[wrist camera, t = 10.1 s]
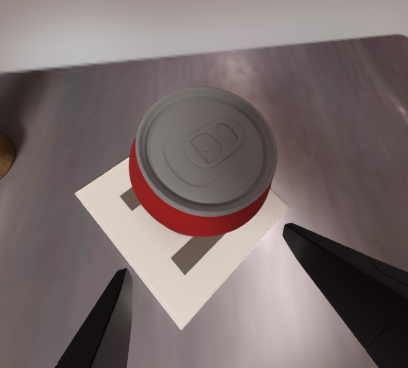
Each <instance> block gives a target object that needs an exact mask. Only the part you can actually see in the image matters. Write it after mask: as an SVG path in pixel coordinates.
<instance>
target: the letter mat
mask: <svg viewBox="0 0 408 368" xmlns="http://www.w3.org/2000/svg"><path fill="white" fill-rule="evenodd" d="M75 195H76V196H77V197H78V198H79V200H80V201H81V202H82V204H83V205H84V206H85V207H86V209H87V210H88V211H89V213H90V214H91V215H92V216H93V218H94V219H95V220H96V222H97V223H98V224H99V225H100V227H101V228H102V229H103V231H104V232H105V233H106V234H107V236H108V237H109V238H110V240H111V241H112V242H113V243H114V245H115V246H116V247H117V249H118V250H119V251H120V252H121V254H122V255H123V256H124V257H125V259H126V260H127V261H128V263H129V264H130V265H131V266H132V268H133V269H134V270H135V272H136V273H137V274H138V275H139V277H140V278H141V279H142V281H143V282H144V283H145V284H146V286H147V287H148V288H149V290H150V291H151V292H152V293H153V295H154V296H155V297H156V299H157V300H158V301H159V302H160V304H161V305H162V306H163V308H164V309H165V310H166V311H167V313H168V314H169V315H170V317H171V318H172V319H173V320H174V322H175V323H176V324H177V326H178V327H179V328H180V329H181V330H182V329H183V328H184V327H185V325H186V324H187V323H188V322H189V321H190V320H191V319H192V317H193V316H194V315H195V314H196V313H197V312H198V311H199V309H200V308H201V307H202V306H203V305H204V304H205V303H206V301H207V300H208V299H209V298H210V297H211V296H212V295H213V293H214V292H215V291H216V290H217V289H218V288H219V287H220V285H221V284H222V283H223V282H224V281H225V280H226V279H227V277H228V276H229V275H230V274H231V273H232V272H233V271H234V269H235V268H236V267H237V266H238V265H239V264H240V263H241V261H242V260H243V259H244V258H245V257H246V256H247V255H248V253H249V252H250V251H251V250H252V249H253V248H254V247H255V245H256V244H257V243H258V242H259V241H260V240H261V239H262V237H263V236H264V235H265V234H266V233H267V232H268V231H269V229H270V228H271V227H272V226H273V225H274V224H275V223H276V221H277V220H278V219H279V218H280V217H281V216H282V215H283V213H284V212H285V211H286V210H287V209H288V208H289V207H288V206H287V205H286V204H285V203H284V202H283V201H282V200H281V199H280V198H279V197H278V196H277V195H276V194H275V193H274V192H273V191H272V190H271V189H270V191H269V194H268V196H267V198H266V200H265V202H264V204H263V206H262V207H261V209H260V210H259V211H258V213H257V214H256V215H255V216H254V217H253V218H252V219H251V220H250V221H249V222H247V223H246V224H245V225H243V226H241V227H240V228H238V229H236V230H234V231H232V232H229V233H226V234H222V235H218V236H210V237H192V236H185V235H181V234H178V233H176V232H173V231H172V230H170V229H168V228H166V227H165V226H164V225H162V224H161V223H159V222H158V221H156V220H155V219H154V218H153V217H152V216H151V215H150V214H149V213H148V212H147V211H146V210H145V209H144V208H143V207H142V205H141V204H140V202H139V201H138V199H137V197H136V195H135V193H134V191H133V188H132V185H131V181H130V177H129V158H127V159H126V160H124V161H123V162H121V163H120V164H118V165H117V166H115V167H114V168H112V169H111V170H109V171H108V172H106V173H105V174H103V175H102V176H100V177H99V178H97V179H96V180H94V181H93V182H91V183H90V184H88V185H87V186H85V187H84V188H82V189H81V190H79V191H78V192H76V193H75Z"/></svg>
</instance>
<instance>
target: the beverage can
mask: <svg viewBox="0 0 408 368" xmlns="http://www.w3.org/2000/svg"><path fill="white" fill-rule="evenodd" d="M276 165H277V147H276V142H275V139H274V136H273V133H272V131H271V129H270V127H269V125H268V123H267V122H266V120H265V119H264V117H263V116H262V115H261V114H260V113H259V112H258V111H257V110H256V109H255V108H254V107H253V106H252V105H251V104H250V103H248V102H247V101H246V100H244V99H242V98H241V97H239V96H237V95H235V94H233V93H230V92H228V91H225V90H221V89H217V88H211V87H190V88H184V89H181V90H177V91H174V92H172V93H170V94H168V95H166V96H164V97H162V98H161V99H160V100H158V101H157V102H156V103H155V104H153V105H152V106H151V107H150V109H149V110H148V111H147V112H146V114H145V115H144V117H143V119H142V121H141V123H140V125H139V127H138V131H137V135H136V138H135V140H134V142H133V144H132V148H131V151H130V156H129V177H130V181H131V185H132V188H133V191H134V193H135V195H136V197H137V199H138V201H139V202H140V204H141V205H142V207H143V208H144V209H145V210H146V211H147V212H148V213H149V214H150V215H151V216H152V217H153V218H154V219H155V220H156V221H158V222H159V223H161V224H162V225H164V226H165V227H166V228H168V229H170V230H172V231H173V232H176V233H178V234H181V235H185V236H192V237H210V236H218V235H222V234H226V233H229V232H232V231H234V230H236V229H238V228H240V227H241V226H243V225H245V224H246V223H247V222H249V221H250V220H251V219H252V218H253V217H254V216H255V215H256V214H257V213H258V211H259V210H260V209H261V207H262V206H263V204H264V202H265V200H266V198H267V196H268V194H269V191H270V187H271V182H272V179H273V176H274V173H275V170H276Z"/></svg>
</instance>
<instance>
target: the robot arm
mask: <svg viewBox="0 0 408 368" xmlns="http://www.w3.org/2000/svg"><path fill="white" fill-rule="evenodd" d="M283 238H284V240H285V241H286V243H287V244H288V246H289V248H290V249H291V251H292V252H293V254H294V256H295V257H296V259H297V260H298V262H299V263H300V264H301V266H302V267H303V268H304V270H305V271H306V272H307V274H308V275H309V276H310V278H311V279H312V280H313V282H314V283H315V284H316V286H317V287H318V288H319V289H320V291H321V292H322V293H323V295H324V296H325V297H326V299H327V300H328V301H329V303H330V304H331V305H332V307H333V308H334V309H335V311H336V312H337V313H338V315H339V316H340V317H341V318H342V320H343V321H344V322H345V324H346V325H347V326H348V328H349V329H350V330H351V332H352V333H353V334H354V336H355V337H356V338H357V340H358V341H359V342H360V344H361V345H362V346H363V348H364V349H365V350H366V352H367V353H368V354H369V356H370V357H371V358H372V360H373V361H374V362H375V364H376V365H377V366H378V367H379V368H408V272H406V271H403V270H401V269H398V268H396V267H393V266H391V265H388V264H386V263H384V262H381V261H379V260H376V259H374V258H372V257H370V256H366V255H365V254H363V253H360V252H358V251H356V250H353V249H351V248H349V247H346V246H344V245H342V244H340V243H337V242H335V241H333V240H330V239H328V238H326V237H323V236H321V235H319V234H317V233H314V232H312V231H310V230H307V229H305V228H303V227H300V226H298V225H296V224H294V223H288V224H285V225H284V229H283ZM131 324H132V277H131V275H130V273H129V270H128V269H127V268H123V269H120V270H118V271H117V272H116V274H115V275H114V277H113V278H112V280H111V281H110V283H109V284H108V286H107V287H106V289H105V291H104V292H103V294H102V295H101V297H100V298H99V300H98V301H97V303H96V304H95V306H94V307H93V309H92V311H91V312H90V314H89V315H88V317H87V318H86V320H85V321H84V323H83V324H82V326H81V328H80V329H79V331H78V332H77V334H76V335H75V337H74V338H73V340H72V341H71V343H70V344H69V346H68V348H67V349H66V351H65V352H64V354H63V355H62V357H61V358H60V360H59V361H58V365H56V366H55V367H54V368H127V360H128V351H129V342H130V333H131Z"/></svg>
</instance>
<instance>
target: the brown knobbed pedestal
mask: <svg viewBox="0 0 408 368" xmlns="http://www.w3.org/2000/svg"><path fill="white" fill-rule="evenodd" d="M14 155H15V151H14V146H13V144H12V142H11V141H10V140H9V139H8V138H7V137H6V136H5V135H3V134H1V133H0V179H1V178H2V177H3V176H4V175H5V174H6V172H7V171H8V170H9V168H10V167H11V165H12V163H13V160H14Z"/></svg>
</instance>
